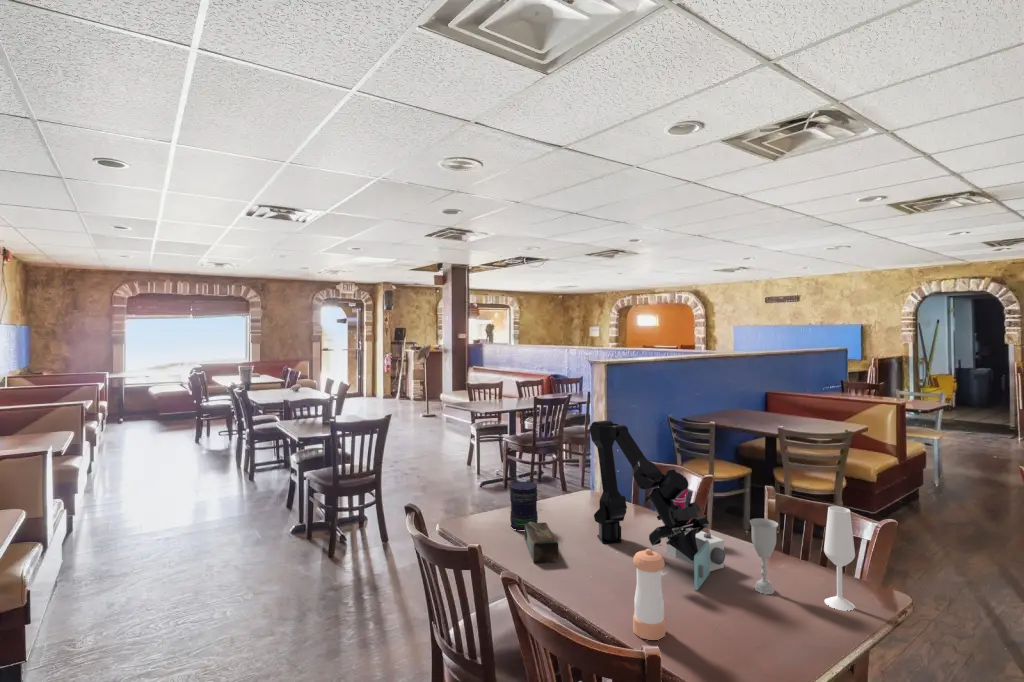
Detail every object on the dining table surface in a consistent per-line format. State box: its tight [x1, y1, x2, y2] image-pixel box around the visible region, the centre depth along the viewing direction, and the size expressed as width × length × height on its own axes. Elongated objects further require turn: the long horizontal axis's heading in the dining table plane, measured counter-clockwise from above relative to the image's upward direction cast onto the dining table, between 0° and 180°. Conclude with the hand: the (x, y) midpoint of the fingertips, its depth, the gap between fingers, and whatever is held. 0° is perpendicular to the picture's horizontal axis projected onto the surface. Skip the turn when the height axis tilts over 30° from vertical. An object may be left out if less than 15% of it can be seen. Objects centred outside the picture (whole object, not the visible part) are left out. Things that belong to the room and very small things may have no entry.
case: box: [665, 529, 726, 572], centre depth 162 cm, size 18×7×9 cm, turn 28°
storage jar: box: [509, 481, 539, 530], centre depth 193 cm, size 10×10×15 cm
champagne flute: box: [823, 505, 856, 612], centre depth 135 cm, size 7×7×24 cm
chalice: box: [749, 517, 779, 595], centre depth 143 cm, size 7×7×18 cm
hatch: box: [693, 542, 711, 591], centre depth 148 cm, size 12×2×9 cm, turn 145°
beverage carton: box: [524, 522, 559, 564], centre depth 171 cm, size 8×19×7 cm, turn 7°
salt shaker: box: [632, 548, 667, 639], centre depth 124 cm, size 7×7×19 cm
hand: (695, 559), depth 147 cm, fingers closed
